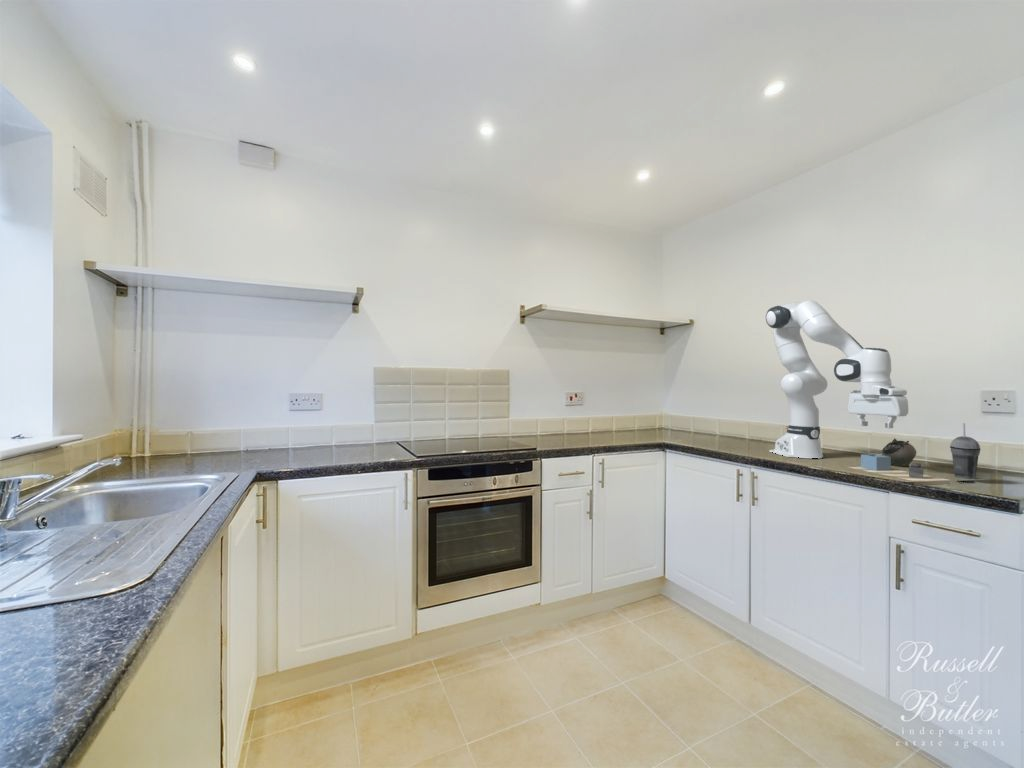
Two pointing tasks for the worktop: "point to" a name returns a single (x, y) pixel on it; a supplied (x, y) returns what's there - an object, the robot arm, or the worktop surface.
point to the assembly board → (906, 476)
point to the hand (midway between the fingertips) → (876, 427)
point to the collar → (876, 462)
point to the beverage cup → (965, 457)
